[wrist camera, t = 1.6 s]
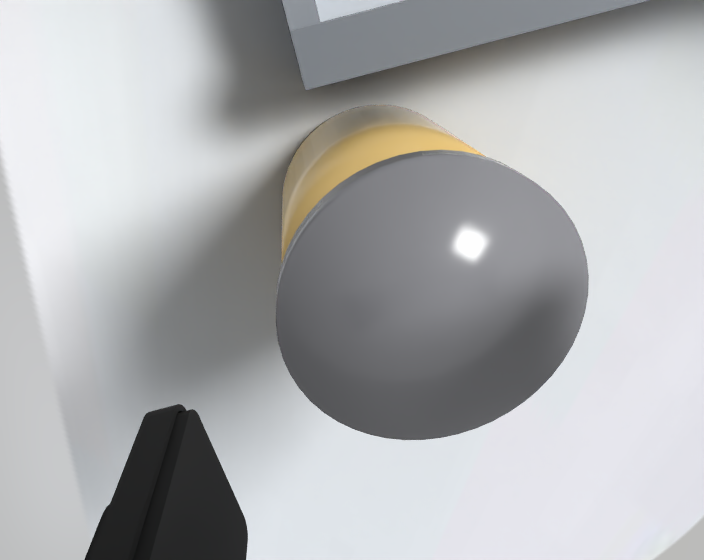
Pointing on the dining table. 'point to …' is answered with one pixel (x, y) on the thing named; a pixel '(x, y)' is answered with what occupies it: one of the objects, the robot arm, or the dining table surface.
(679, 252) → the dining table surface
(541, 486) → the dining table surface
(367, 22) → the grey open rectangular box
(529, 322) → the honey jar
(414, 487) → the dining table surface
